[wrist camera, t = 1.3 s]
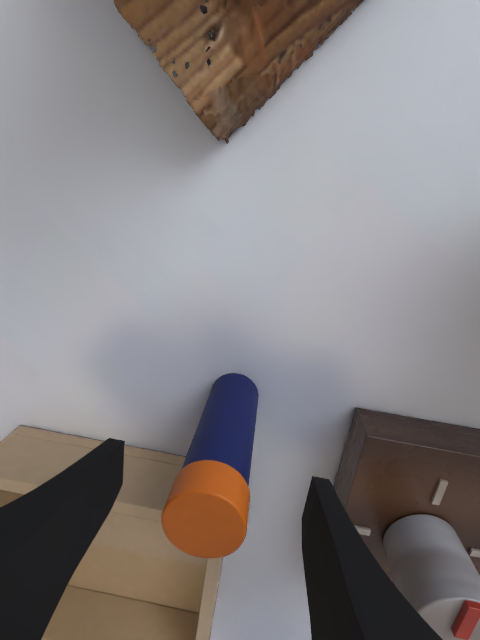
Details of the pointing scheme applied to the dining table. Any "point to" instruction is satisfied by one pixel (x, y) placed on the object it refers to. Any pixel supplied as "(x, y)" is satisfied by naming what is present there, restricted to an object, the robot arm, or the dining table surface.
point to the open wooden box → (119, 548)
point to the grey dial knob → (435, 575)
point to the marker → (215, 474)
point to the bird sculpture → (232, 48)
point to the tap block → (410, 477)
